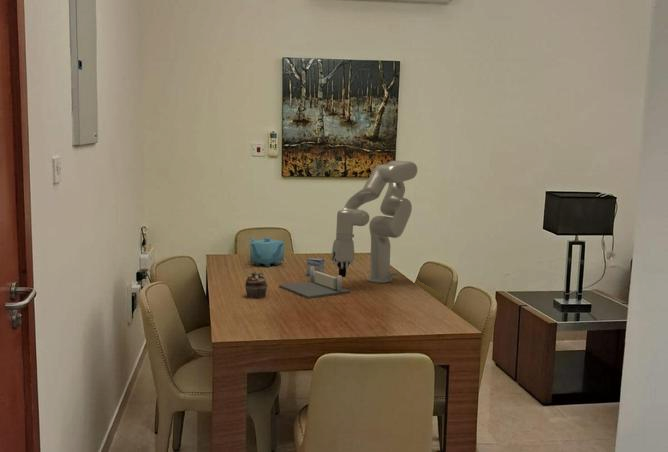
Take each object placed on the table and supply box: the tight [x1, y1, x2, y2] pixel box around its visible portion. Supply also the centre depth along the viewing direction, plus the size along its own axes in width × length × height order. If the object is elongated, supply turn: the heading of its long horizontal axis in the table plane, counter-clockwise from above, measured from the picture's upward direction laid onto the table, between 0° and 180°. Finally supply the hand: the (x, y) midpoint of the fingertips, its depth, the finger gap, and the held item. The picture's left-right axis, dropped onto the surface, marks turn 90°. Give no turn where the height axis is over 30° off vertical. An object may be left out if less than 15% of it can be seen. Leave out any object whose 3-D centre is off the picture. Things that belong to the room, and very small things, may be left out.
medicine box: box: [306, 257, 325, 277], centre depth 320 cm, size 8×4×9 cm, turn 68°
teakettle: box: [249, 237, 286, 268], centre depth 346 cm, size 19×19×15 cm
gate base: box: [278, 267, 351, 300], centre depth 290 cm, size 22×25×8 cm
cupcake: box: [245, 272, 268, 299], centre depth 276 cm, size 10×10×10 cm
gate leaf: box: [313, 271, 337, 290], centre depth 293 cm, size 2×19×5 cm, turn 34°
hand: (342, 276), depth 295 cm, fingers closed
